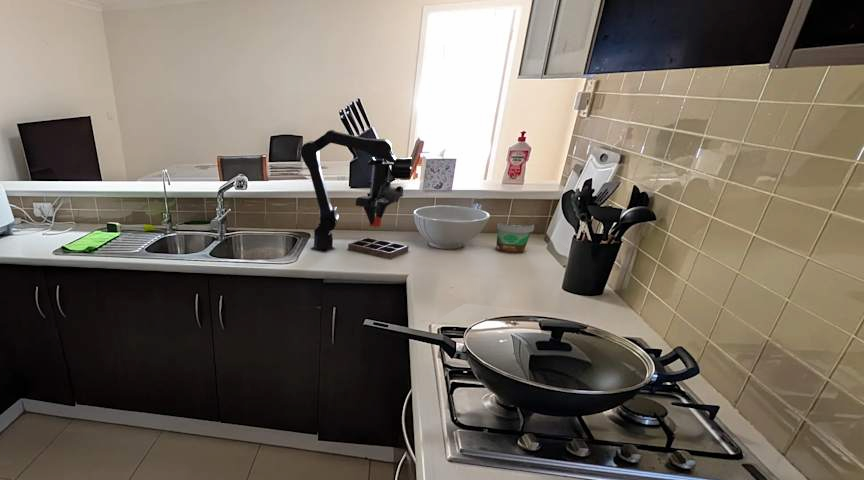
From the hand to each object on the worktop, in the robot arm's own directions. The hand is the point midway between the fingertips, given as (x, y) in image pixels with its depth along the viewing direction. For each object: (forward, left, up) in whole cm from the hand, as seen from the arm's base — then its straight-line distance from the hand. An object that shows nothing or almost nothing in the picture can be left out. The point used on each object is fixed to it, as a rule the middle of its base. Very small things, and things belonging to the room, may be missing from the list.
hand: (375, 222), depth 184 cm
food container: (+38, +33, -11) cm, 51 cm away
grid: (+1, +3, -11) cm, 11 cm away
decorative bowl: (+16, +27, -11) cm, 33 cm away
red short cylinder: (0, 0, -1) cm, 1 cm away
